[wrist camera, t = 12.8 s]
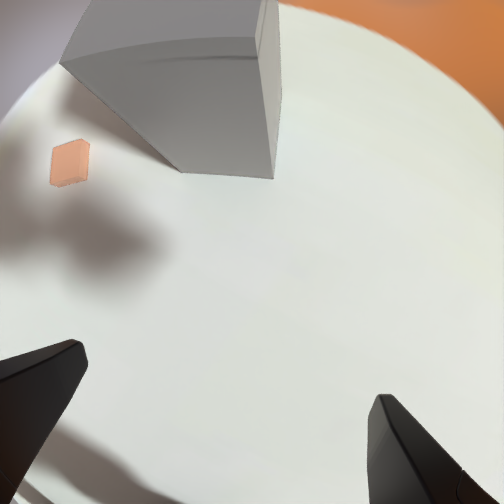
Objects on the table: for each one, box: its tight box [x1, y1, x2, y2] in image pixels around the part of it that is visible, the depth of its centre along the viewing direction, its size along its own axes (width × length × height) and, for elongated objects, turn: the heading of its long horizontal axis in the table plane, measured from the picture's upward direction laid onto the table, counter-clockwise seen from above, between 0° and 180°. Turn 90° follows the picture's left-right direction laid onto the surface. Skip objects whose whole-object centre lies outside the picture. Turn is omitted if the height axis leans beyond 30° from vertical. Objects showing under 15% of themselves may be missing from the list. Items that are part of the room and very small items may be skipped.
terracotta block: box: [50, 139, 90, 187], centre depth 20 cm, size 3×3×2 cm
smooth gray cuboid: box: [59, 0, 282, 179], centre depth 13 cm, size 6×6×13 cm
